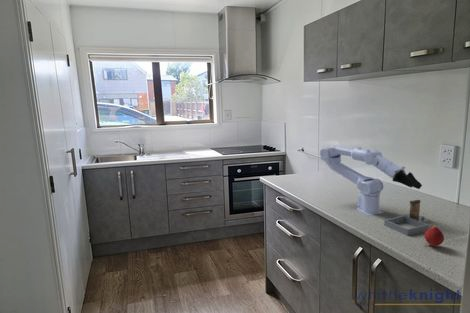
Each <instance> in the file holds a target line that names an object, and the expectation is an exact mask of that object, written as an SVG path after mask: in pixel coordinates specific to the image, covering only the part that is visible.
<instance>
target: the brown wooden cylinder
mask: <svg viewBox="0 0 470 313" xmlns="http://www.w3.org/2000/svg"><path fill="white" fill-rule="evenodd" d="M421 202H422V201H421V200H419V199H415V200H410V201H409V214H410V217H409V218H412V219H414V218H416V219H417V220H418V219H419V216H420V206H421Z"/></svg>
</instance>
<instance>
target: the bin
mask: <svg viewBox="0 0 470 313" xmlns="http://www.w3.org/2000/svg"><path fill="white" fill-rule="evenodd" d="M399 216H400V217H398V216H397V217H393V218H392V217H391V218H387V219H384V222H383V226H385V227H387V228H389V229H392V230H393V231H395V232H398V233H400V234H403V235H405V236H406V237H407V236H412V235H416V234H420V233H425V232H426V231H427V230H428V229H429V226H430V225H429V224H427V223H425V222H420V221H417V220H415V219H412V218H409V217H407V216H403V215H399ZM400 223H405V224H410V225H412V226H413V227H410V228H406V227H404V226H401V225H400Z"/></svg>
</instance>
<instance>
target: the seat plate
mask: <svg viewBox="0 0 470 313" xmlns="http://www.w3.org/2000/svg"><path fill="white" fill-rule="evenodd" d="M400 216H401V215H398V216H397V217H400ZM402 216H407V217H410V213H407V214H404V215H403V214H402ZM414 219H415V220H417V219H416V218H414ZM417 221H420V222H423V223H425V222H429V221H431V219H429V218H426V217H425V216H421V215H419V219H418V220H417Z"/></svg>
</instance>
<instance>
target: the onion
mask: <svg viewBox="0 0 470 313" xmlns="http://www.w3.org/2000/svg"><path fill="white" fill-rule="evenodd" d="M423 235H424V239H425V241H426V243H428V244H429V245H430V246H431V247H433V248H434V247H438V246H440V245H441V244H443V243H444V240H445V236H444V234H443V232H442V231H441V229H439V228H438V227H437V226H436V225H432V227H430V228H429V227H428V230H427V231H425V232H424V234H423Z"/></svg>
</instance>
